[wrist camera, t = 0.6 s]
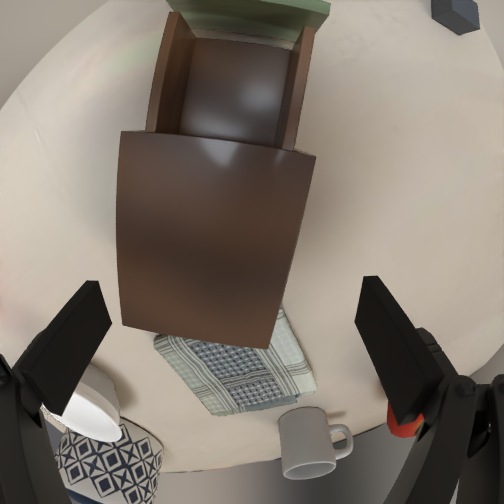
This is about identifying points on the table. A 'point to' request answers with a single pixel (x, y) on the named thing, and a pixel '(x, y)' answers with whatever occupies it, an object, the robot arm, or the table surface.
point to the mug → (309, 443)
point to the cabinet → (206, 234)
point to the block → (456, 15)
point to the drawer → (234, 70)
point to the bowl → (93, 407)
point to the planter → (110, 467)
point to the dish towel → (241, 371)
